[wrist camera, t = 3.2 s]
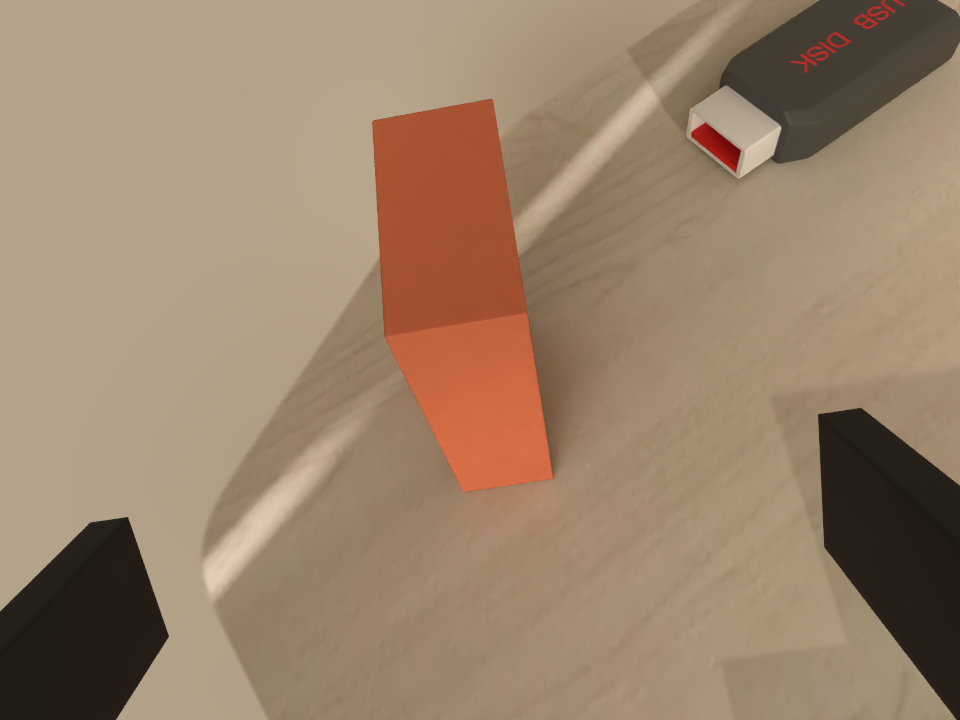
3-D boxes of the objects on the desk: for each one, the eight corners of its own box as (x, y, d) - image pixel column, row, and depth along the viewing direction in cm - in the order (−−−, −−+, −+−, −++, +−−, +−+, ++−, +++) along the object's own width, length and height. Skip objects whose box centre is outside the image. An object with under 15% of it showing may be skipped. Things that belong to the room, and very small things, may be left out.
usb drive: (952, 57, 35) (979, 5, 32) (754, 196, 33) (766, 151, 30) (861, 2, 37) (880, -51, 35) (671, 128, 35) (676, 81, 33)
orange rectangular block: (463, 492, 29) (384, 337, 18) (446, 331, 32) (371, 120, 21) (553, 478, 28) (527, 314, 18) (527, 317, 32) (492, 97, 21)
